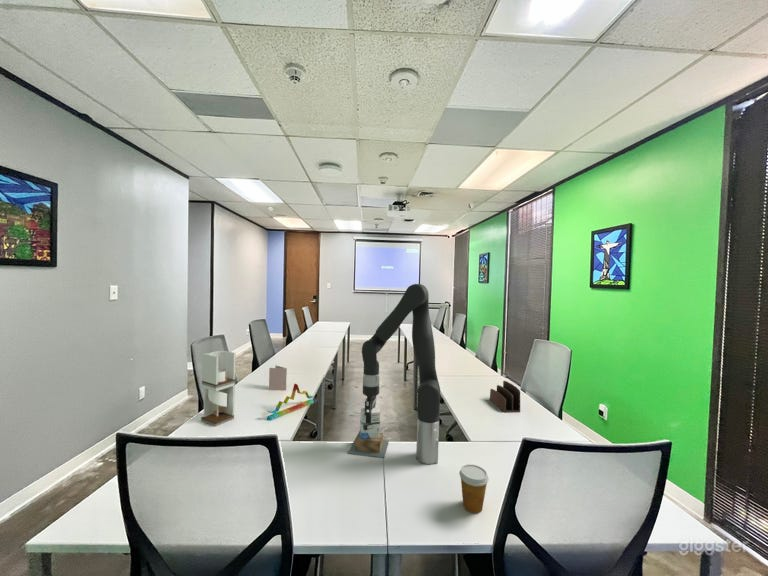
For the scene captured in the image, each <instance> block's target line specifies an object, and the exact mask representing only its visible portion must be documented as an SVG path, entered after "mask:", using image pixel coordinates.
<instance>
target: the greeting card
mask: <svg viewBox="0 0 768 576" xmlns="http://www.w3.org/2000/svg"><path fill="white" fill-rule="evenodd" d="M268 369H269V371H268V373H269V375H268V376H269V377H268V391H287V370H288V369H287V367H283V366H280V365H277V364H276V365H275V366H274V367H269V368H268Z"/></svg>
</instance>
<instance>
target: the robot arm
mask: <svg viewBox="0 0 768 576" xmlns="http://www.w3.org/2000/svg"><path fill="white" fill-rule="evenodd" d="M429 298H430V297H429V291H428V289H427V287H426V286H425V285H424V284H422V283H421V284H420V283H413V284H410V285H409V286H408V287H407V289H406V290H405V292H404V293H403V295H402V297H401V299H400V300H399V301H398V303H397V305H396V306H395V307H394V309H393V310H392V311H391V312H390V313H389V314H388V316H386V317H385V319H384V320H383V321H382V323H380V325H378V327H377V329H376V330H375V333H374V334H373V335H372V336H371V337H370V338H369V339H368V340H365V341H364V342H363V344H362V347H361V357H362V362H363V376H362V394H363V396H366V398H365V400H364V408H365V413H364V414H365V415H366V423H369V424H370V423H371V414H372V410H373V408H376V404H377V396H378V395H380V361H378V359H377V357H378V356H377V354H378V353H379V352H380V351H381V350H382V349H383V348H384V347H385V345H386V344H387V342H388V341H389V340H390V339H391V338H392V336H393V335H394V334H395V333H396V332H397V331H398V329H399V328H400V326H401V325H402V324H403V322H404V321H405V319H406V318H407V316H409V314H411V312H412V325H411V326H412V328H411V342H412V349H413V353H414V357H415V360H416V364H417V366H418V373H419V386H418V390H417V406H416V408H417V409H416V410H417V413H416V414H417V418H416V419H417V425H416V427H417V428H416V446H415V447H416V450H415V457H416V460H417V461H418V462H420V463H421V464H427V465H433V464H438V463H439V445H440V444H439V441H440V440H439V439H440V438H439V434H440V433H439V431H440V407H441V405H440V403H441V387H440V386H441V385H440V382H439V379H438V375H437V370H436V349H435V347H436V346H435V339H434V333H433V327H432V322H431V321H432V320H431V317H430V307H429V305H430V302H429V300H430V299H429ZM367 410H369V412H367Z"/></svg>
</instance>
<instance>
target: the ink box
mask: <svg viewBox="0 0 768 576" xmlns="http://www.w3.org/2000/svg"><path fill="white" fill-rule="evenodd" d="M367 412H369V410H367ZM364 413H365V407H364V408H363V407H362V408H361V409H360V422H359V431H360V436H361V439H367V438H380V433H381V410H380V408H379V407H375V408H373V410H372V414H371V423H370V424H369V423H366V415H365V414H364Z"/></svg>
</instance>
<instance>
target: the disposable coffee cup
mask: <svg viewBox="0 0 768 576" xmlns="http://www.w3.org/2000/svg"><path fill="white" fill-rule="evenodd" d="M458 475H459V477H460V482H461V494H462V495H461V497H462V506H463V508H464V509H465V510H466V511H467V512H469V513H471V514H479V513H481V512H482V511H483V508H484V502H485V495H486V490H487V484H488V482H489V479H490V477H489V475H488V473H487V470H486V469H485V468H483V467H481V466H479V465H477V464H471V463H469V464H467V463H466V464H464V465H462V466H461V469H460V470H459V473H458Z"/></svg>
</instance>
